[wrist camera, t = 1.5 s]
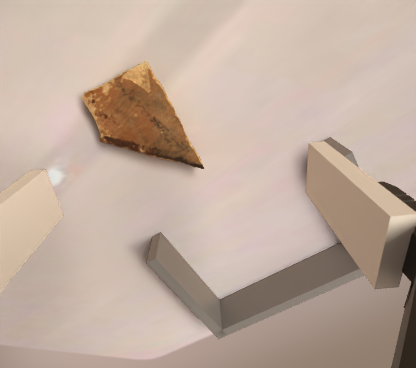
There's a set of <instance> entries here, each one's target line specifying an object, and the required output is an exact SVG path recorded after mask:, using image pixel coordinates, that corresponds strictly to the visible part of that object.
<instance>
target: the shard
mask: <svg viewBox="0 0 416 368" xmlns="http://www.w3.org/2000/svg"><path fill="white" fill-rule="evenodd" d="M82 99H83V101H84V103H85V105H86V106H87V108H88V109H89V111H90V112H91V114H92V116H93V117H94V119H95V121H96V123H97V127H98V129H99V132H100V134H101V137H100V141H101V142H104V143H108V144H113V145H115V146H118V147H122V148H128V149H130V150H132V151H136V152H140V153H143V154H146V155H149V156H154V157H157V158H162V159H166V160H171V161H175V162H182V163H185V164H189V165H191V166H193V167H197V168H201V169H204V167H203V164H202V162H201V159H200V157H199V156H198V155H197V153H196V151H195V149H194V148H193V147H192V145H191V143H190V142H189V140H188V138H187V136H186V134H185V132H184V129H183V126H182V124H181V122H180V120H179V118H178V117H177V115H176V113H175V110H174V108H173V106H172V104H171V102H170V101H169V99H168V97H167V95H166V93H165V91H164V88H163V87H162V85H161V84H160V82H159V81H158V80H157V79H156V78H155V76H154V74H153V73H152V70H151V68H150V66H149V64H148V63H147V62H146V61H145V62H143V63H141V64H139V65H137V66H136V67H134V68H132V69H130V70H127V71H125V72H123V73H122V74H120V75H118V76H117V77H115V78H113V79H112V80H110V81H109V82H107V83H105V84H103V85H101V86H98V87H97V88H94V89H92V90H89V91H87V92H85V93H84V95H83V96H82Z"/></svg>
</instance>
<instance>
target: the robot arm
mask: <svg viewBox="0 0 416 368" xmlns="http://www.w3.org/2000/svg"><path fill="white" fill-rule="evenodd" d="M306 194H307V195H308V196H309V198H310V199H311V201H312V202H313V203H314V205H315V206H316V208H317V209H318V210H319V212H320V213H321V215H322V216H323V218H324V219H325V220H326V222H327V223H328V225H329V226H330V227H331V229H332V230H333V232H334V233H335V234H336V236H337V237H338V239H339V240H340V241H341V243H342V244H343V246H344V247H345V248H346V250H347V251H348V253H349V254H350V255H351V257H352V258H353V260H354V261H355V263H356V264H357V265H358V267H359V268H360V270H361V271H362V272H363V274H364V275H365V277H366V278H367V279H368V281H369V282H370V284H371V285H372V286H373V288H374V289H382V288H394V287H399V284H400V280H401V276H402V273H404V274H405V275H406V276H407V278H408V279H409V280H410V281H411V286H410V289H409V292H408V295H407V299H406V302H405V306H404V308H405V310H404V314H403V319H402V323H401V327H400V332H399V336H398V341H397V345H396V349H395V354H394V358H393V362H392V367H391V368H416V201H414V199H413V198H411V197H410V196H409V195H406V193H404V192H403V191H402V190H400V189H399V188H398V187H396V186H393V185H391V184H388V183H386V182H377V181H375V180H374V179H373V178H371V177H370V176H369V175H368V174H366V173H365V172H364V171H362V170H361V169H360V168H358V167H357V166H356V165H355V164H353V163H352V162H351V161H349V160H348V159H347V158H345V157H344V156H343V155H342V154H340V153H339V152H338V151H336V150H335V149H334V148H333V147H331V146H330V145H329V144H327V143H326V142H325V141H322V142H312V143H309V147H308V163H307V179H306ZM63 216H64V215H63V213H62V210H61V207H60V205H59V202H58V200H57V197H56V194H55V192H54V189H53V187H52V184H51V181H50V179H49V176H48V174H47V171H46V169H42V170H32V171H30V172H28V173H27V174H25V175H24V176H23V177H21V178H20V179H19V180H17V181H16V182H14V183H13V184H12V185H10V186H9V187H8V188H6V189H5V190H3V191H2V192H1V193H0V293H1V291H2V290H3V289H4V288H5V286H6V285H7V284H8V283H9V282H10V280H11V279H12V278H13V277H14V275H15V274H16V273H17V272H18V271H19V269H20V268H21V267H22V266H23V264H24V263H25V262H26V261H27V260H28V258H29V257H30V256H31V255H32V253H33V252H34V251H35V250H36V249H37V247H38V246H39V245H40V244H41V242H42V241H43V240H44V239H45V238H46V236H47V235H48V234H49V233H50V232H51V230H52V229H53V228H54V227H55V225H56V224H57V223H58V222H59V221H60V219H61V218H62V217H63Z"/></svg>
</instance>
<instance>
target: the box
mask: <svg viewBox="0 0 416 368" xmlns="http://www.w3.org/2000/svg"><path fill="white" fill-rule="evenodd" d="M325 142H326V143H327V144H329V145H330V146H331V147H333V148H334V149H335V150H336V151H338V152H339V153H340V154H342V155H343V156H344V157H345V158H347V159H348V160H349V161H351V162H352V163H353V164H355V165H356V166H357V167H358V165H357V162H356V160H355V157H354V155H353V153H352V152H351V151H350V150H348V149H347V148H345V147H344V146H343V145H341V144H340V143H338V142H337V141H335V140H334V139H332V138H331V137H330V138H328V139H326V140H325ZM358 168H359V167H358ZM146 264H147V265H148V266H149V267H150V268H151V269H152V270H153V271H154V272H155V273H156V274H157V275H158V276H159V277H160V278H161V279H162V280H163V281H164V282H165V284H166V285H167V286H168V287H169V288H170V289H171V290H172V291H173V292H174V293H175V294H176V295H177V296H178V297H179V298H180V299H181V300H182V301H183V302H184V303H185V304H186V306H187V307H188V308H189V309H190V310H191V311H192V312H193V313H194V314H195V315H196V316H197V317H198V318H199V319H200V320H201V321H202V322H203V323H204V324H205V325H206V326H207V327H208V329H209V330H210V331H211V332H212V333H213V334H214V335H215V336H216V337H217V338H218V339H220V338H222V337H224V336H227V335H229V334H231V333H234V332H236V331H238V330H241V329H243V328H245V327H247V326H250V325H252V324H254V323H257V322H259V321H261V320H263V319H266V318H268V317H270V316H272V315H275V314H277V313H279V312H282V311H284V310H286V309H288V308H291V307H293V306H295V305H298V304H300V303H302V302H304V301H307V300H309V299H311V298H314V297H316V296H318V295H320V294H323V293H325V292H327V291H330V290H332V289H334V288H336V287H339V286H341V285H343V284H345V283H348V282H350V281H352V280H355V279H357V278H359V277H361V276H364V274H363V272H362V271H361V270H360V268H359V267H358V265H357V264H356V263H355V261H354V260H353V258H352V257H351V255H350V254H349V253H348V251H347V250H346V248H345V247H344V246H343V244H342V243H339V244H337V245H335V246H333V247H331V248H328V249H326V250H324V251H322V252H320V253H318V254H316V255H314V256H311V257H309V258H307V259H305V260H303V261H301V262H299V263H297V264H295V265H292V266H290V267H288V268H286V269H284V270H282V271H280V272H278V273H275V274H273V275H271V276H269V277H267V278H265V279H263V280H261V281H259V282H256V283H254V284H252V285H250V286H248V287H246V288H244V289H242V290H239V291H237V292H235V293H233V294H231V295H229V296H227V297H225V298H223V299H220V300H219V299H218V298H217V297H216V295H215V294H214V293H213V292H212V291H211V290H210V288H209V287H208V286H207V285H206V284H205V283H204V282H203V280H202V279H201V278H200V277H199V276H198V275H197V273H196V272H195V271H194V270H193V269H192V268H191V267H190V265H189V264H188V263H187V262H186V261H185V260H184V259H183V257H182V256H181V255H180V254H179V253H178V252H177V250H176V249H175V248H174V247H173V246H172V245H171V244H170V242H169V241H168V240H167V239H166V238H165V237H164V235H163V234H162V233H161V232H160V233H159V234H157V235H155V236H153V237H152V241H151V245H150V249H149V254H148V258H147V262H146Z"/></svg>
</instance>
